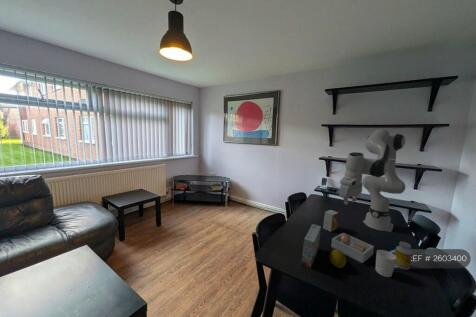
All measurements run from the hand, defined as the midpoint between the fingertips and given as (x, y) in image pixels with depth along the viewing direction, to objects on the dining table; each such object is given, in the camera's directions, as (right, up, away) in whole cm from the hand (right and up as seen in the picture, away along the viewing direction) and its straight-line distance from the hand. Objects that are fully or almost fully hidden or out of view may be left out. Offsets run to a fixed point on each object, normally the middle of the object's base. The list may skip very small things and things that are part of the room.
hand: (350, 202), depth 115 cm
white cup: (+7, -32, -16) cm, 37 cm away
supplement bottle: (+21, -32, -11) cm, 40 cm away
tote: (+1, -29, +1) cm, 29 cm away
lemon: (-14, -31, -12) cm, 36 cm away
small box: (+1, -26, +27) cm, 38 cm away
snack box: (-26, -30, -6) cm, 40 cm away
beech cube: (+4, -29, -3) cm, 30 cm away
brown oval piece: (-1, -28, +4) cm, 29 cm away
